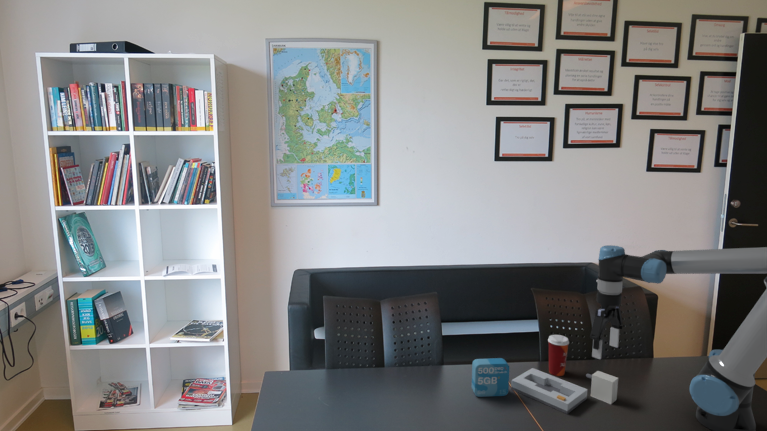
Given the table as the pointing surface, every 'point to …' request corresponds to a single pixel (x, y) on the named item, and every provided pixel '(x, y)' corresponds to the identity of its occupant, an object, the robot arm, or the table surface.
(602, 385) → the plug
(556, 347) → the paper cup
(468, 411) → the table surface
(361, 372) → the table surface
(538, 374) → the socket
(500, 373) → the data package
